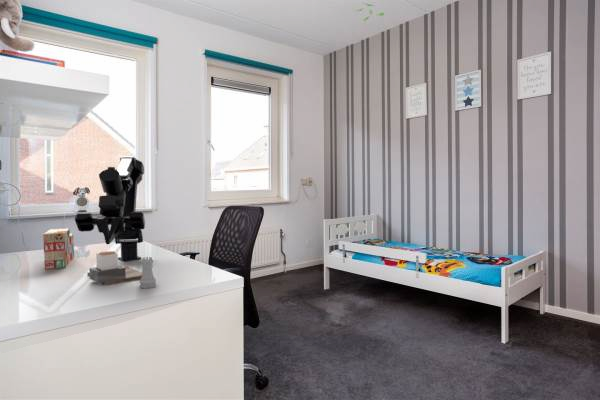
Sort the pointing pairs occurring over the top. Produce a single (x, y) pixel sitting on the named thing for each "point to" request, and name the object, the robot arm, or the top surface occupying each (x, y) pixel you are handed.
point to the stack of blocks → (58, 248)
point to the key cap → (107, 260)
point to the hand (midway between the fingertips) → (107, 243)
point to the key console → (114, 275)
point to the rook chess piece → (147, 274)
